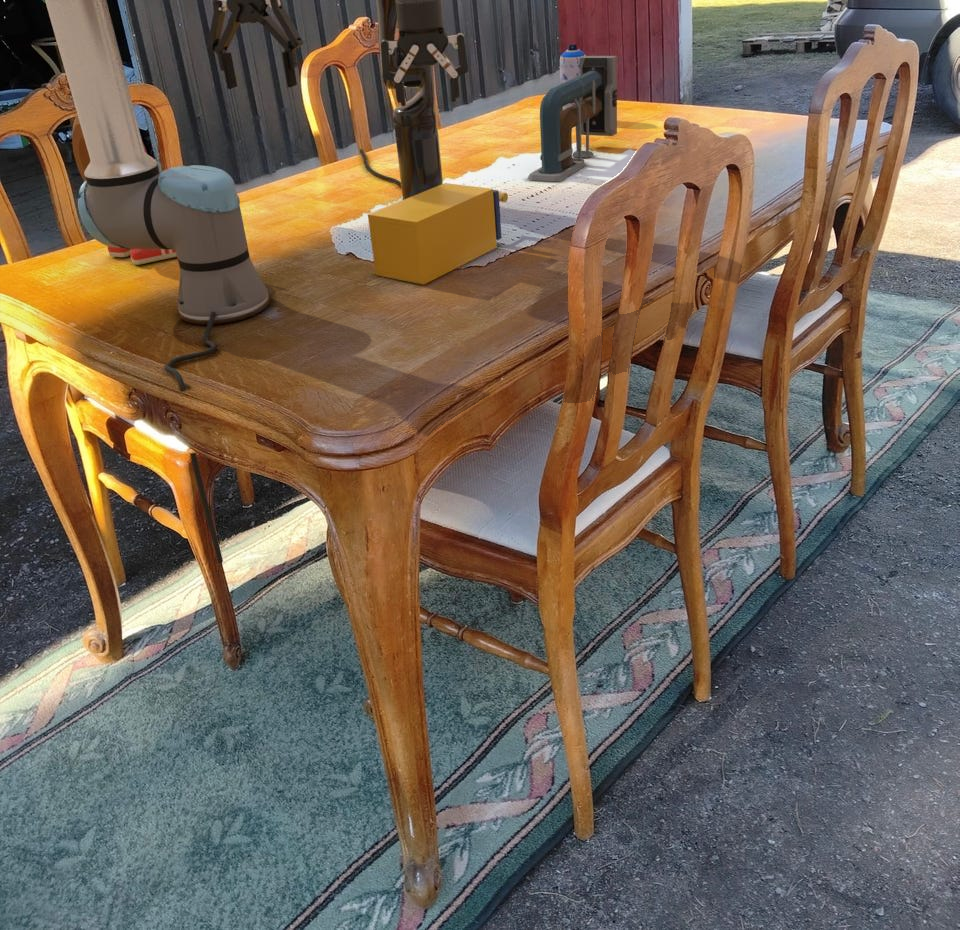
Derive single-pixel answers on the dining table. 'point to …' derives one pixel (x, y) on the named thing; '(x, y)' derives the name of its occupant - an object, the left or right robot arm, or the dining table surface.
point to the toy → (82, 163)
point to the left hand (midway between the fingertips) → (262, 87)
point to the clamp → (577, 117)
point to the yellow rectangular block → (432, 232)
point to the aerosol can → (570, 66)
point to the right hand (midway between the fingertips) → (428, 103)
